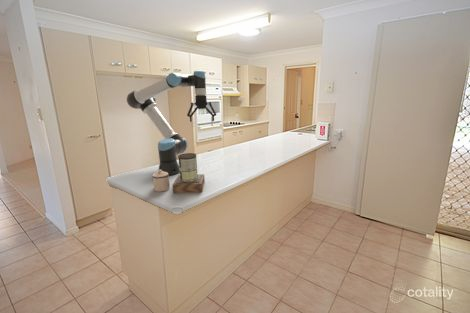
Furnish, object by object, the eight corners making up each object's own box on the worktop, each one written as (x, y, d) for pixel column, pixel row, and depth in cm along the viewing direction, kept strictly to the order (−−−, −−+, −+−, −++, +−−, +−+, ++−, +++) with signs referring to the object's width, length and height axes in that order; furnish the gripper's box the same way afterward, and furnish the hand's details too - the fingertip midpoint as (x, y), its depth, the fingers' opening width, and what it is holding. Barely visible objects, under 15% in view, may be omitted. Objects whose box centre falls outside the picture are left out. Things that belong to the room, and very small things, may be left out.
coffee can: (176, 179, 134) (174, 155, 130) (190, 174, 141) (188, 152, 138) (187, 183, 127) (185, 158, 124) (201, 177, 135) (200, 154, 131)
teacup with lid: (173, 188, 134) (171, 169, 131) (158, 193, 128) (156, 173, 125) (163, 183, 142) (161, 165, 139) (148, 187, 136) (146, 169, 133)
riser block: (173, 193, 128) (172, 184, 126) (178, 182, 143) (178, 174, 142) (202, 192, 128) (201, 182, 127) (204, 181, 144) (204, 173, 142)
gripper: (181, 95, 152) (183, 127, 158) (218, 94, 153) (220, 126, 158) (183, 95, 160) (185, 126, 165) (219, 94, 160) (220, 125, 166)
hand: (202, 126), depth 162 cm, fingers open, 13 cm apart
